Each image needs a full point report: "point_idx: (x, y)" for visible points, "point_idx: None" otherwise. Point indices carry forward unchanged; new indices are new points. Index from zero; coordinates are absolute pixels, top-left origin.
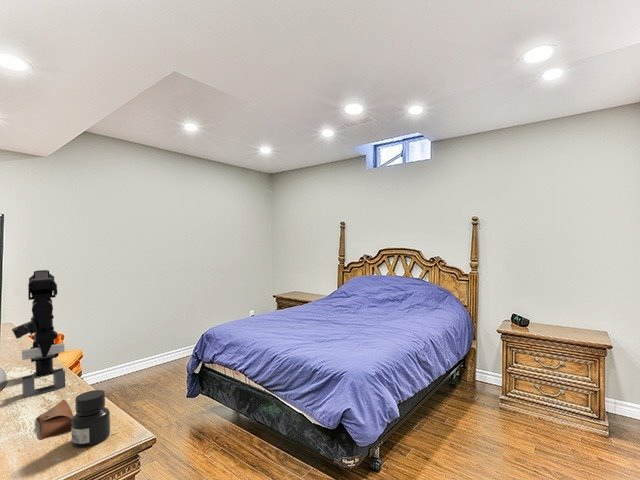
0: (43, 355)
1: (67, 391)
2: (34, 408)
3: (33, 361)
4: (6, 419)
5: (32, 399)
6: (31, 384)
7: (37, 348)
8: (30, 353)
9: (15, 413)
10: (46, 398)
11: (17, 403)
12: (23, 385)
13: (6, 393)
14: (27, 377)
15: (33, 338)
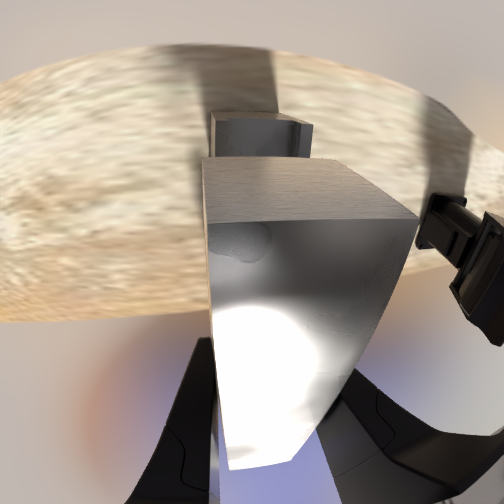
0: (196, 356)
1: (150, 263)
2: (40, 157)
3: (483, 219)
4: (9, 81)
5: (153, 143)
6: (213, 156)
7: (287, 399)
8: (210, 307)
9: (37, 97)
10: (121, 194)
11: (151, 87)
12: (214, 117)
13: (353, 70)
14: (295, 150)
15: (441, 491)
